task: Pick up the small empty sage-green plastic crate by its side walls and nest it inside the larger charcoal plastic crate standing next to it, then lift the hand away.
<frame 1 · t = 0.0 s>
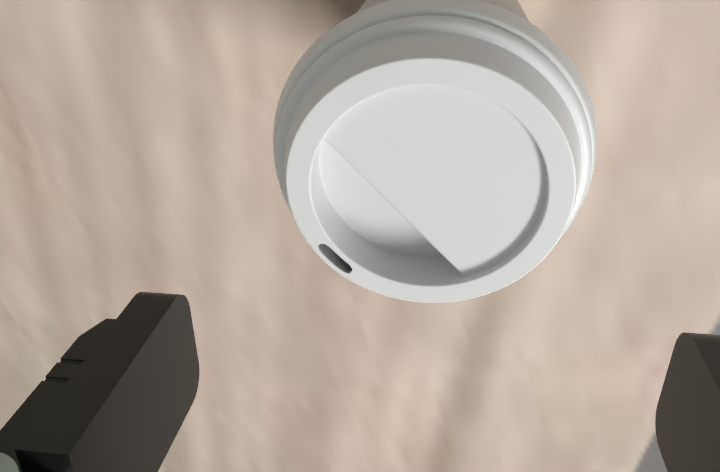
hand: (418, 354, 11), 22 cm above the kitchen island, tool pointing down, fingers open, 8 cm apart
coffee cup: (441, 17, 30), on the kitchen island
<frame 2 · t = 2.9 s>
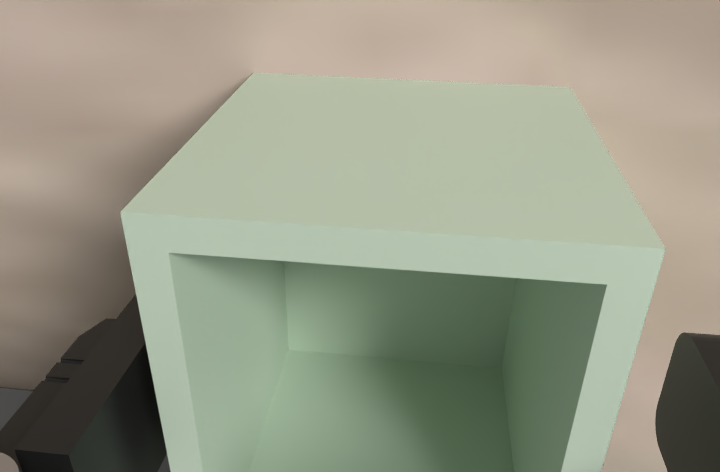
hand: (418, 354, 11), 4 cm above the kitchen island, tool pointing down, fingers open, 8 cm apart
sage crate: (400, 237, 14), on the kitchen island
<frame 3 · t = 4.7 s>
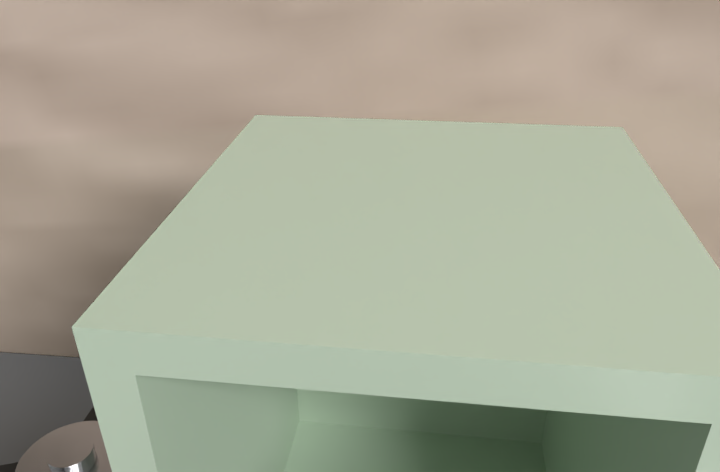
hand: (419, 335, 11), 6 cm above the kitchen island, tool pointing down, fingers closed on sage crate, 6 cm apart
sage crate: (424, 297, 12), point 4 cm above the kitchen island, touching gripper
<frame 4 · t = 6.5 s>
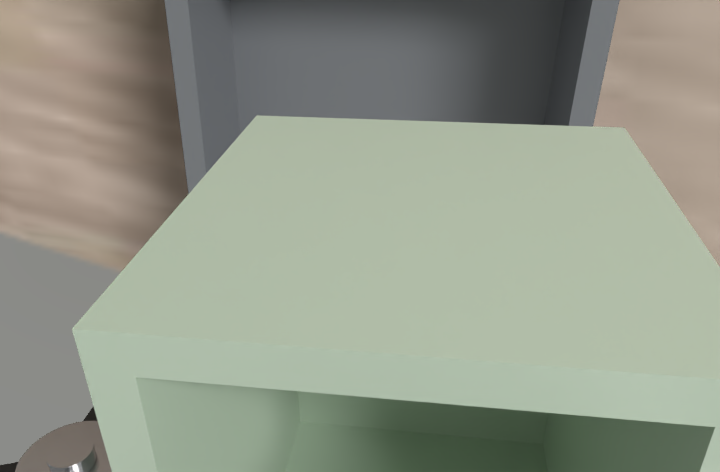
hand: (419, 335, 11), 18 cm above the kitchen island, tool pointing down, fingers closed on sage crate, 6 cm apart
sage crate: (425, 298, 12), point 17 cm above the kitchen island, touching gripper
charcoal crate: (390, 87, 27), on the kitchen island
when the fingers open (4 cm above the kitchen island, at t = 9.3 s): sage crate drops 1 cm, resting on charcoal crate.
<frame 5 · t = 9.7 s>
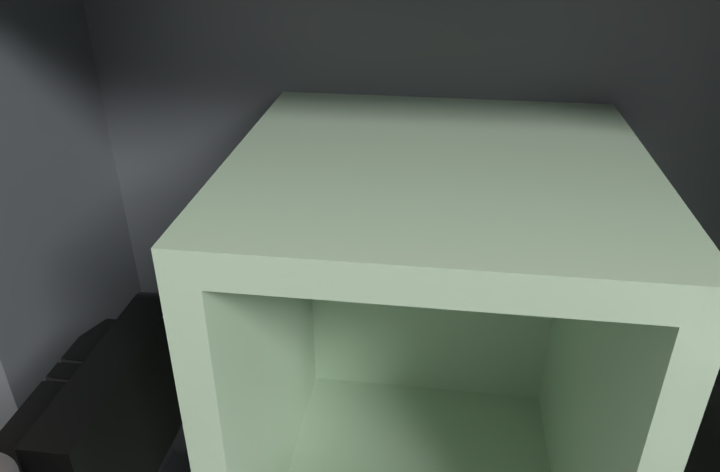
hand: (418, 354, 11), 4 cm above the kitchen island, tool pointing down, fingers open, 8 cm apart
sage crate: (432, 261, 13), point 1 cm above the kitchen island, touching charcoal crate
charcoal crate: (427, 237, 14), on the kitchen island
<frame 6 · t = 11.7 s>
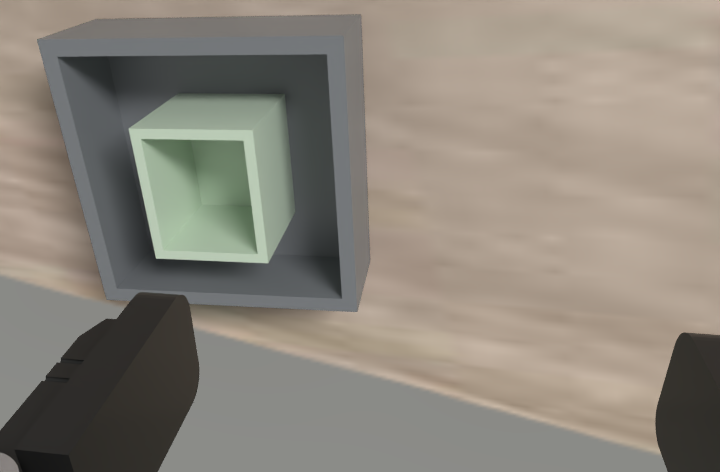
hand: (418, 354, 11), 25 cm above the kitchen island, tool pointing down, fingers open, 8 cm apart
sage crate: (238, 154, 36), point 1 cm above the kitchen island, touching charcoal crate
charcoal crate: (241, 147, 37), on the kitchen island
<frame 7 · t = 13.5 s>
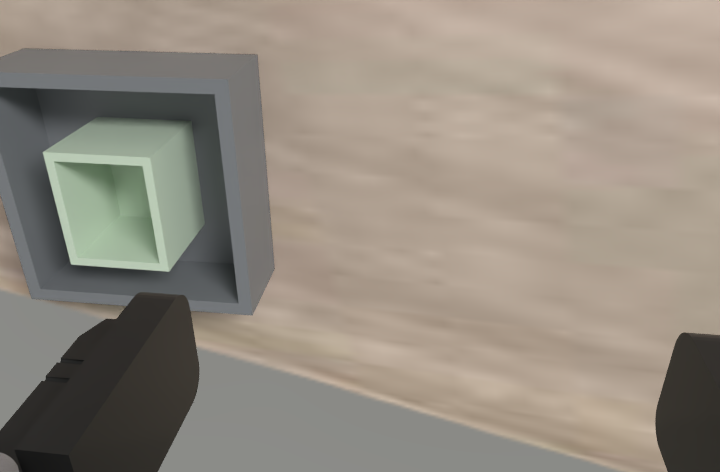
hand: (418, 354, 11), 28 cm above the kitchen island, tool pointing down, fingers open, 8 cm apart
sage crate: (152, 172, 41), point 1 cm above the kitchen island, touching charcoal crate
charcoal crate: (157, 165, 42), on the kitchen island
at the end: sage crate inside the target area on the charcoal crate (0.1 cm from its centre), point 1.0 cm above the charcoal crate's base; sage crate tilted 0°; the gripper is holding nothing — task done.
